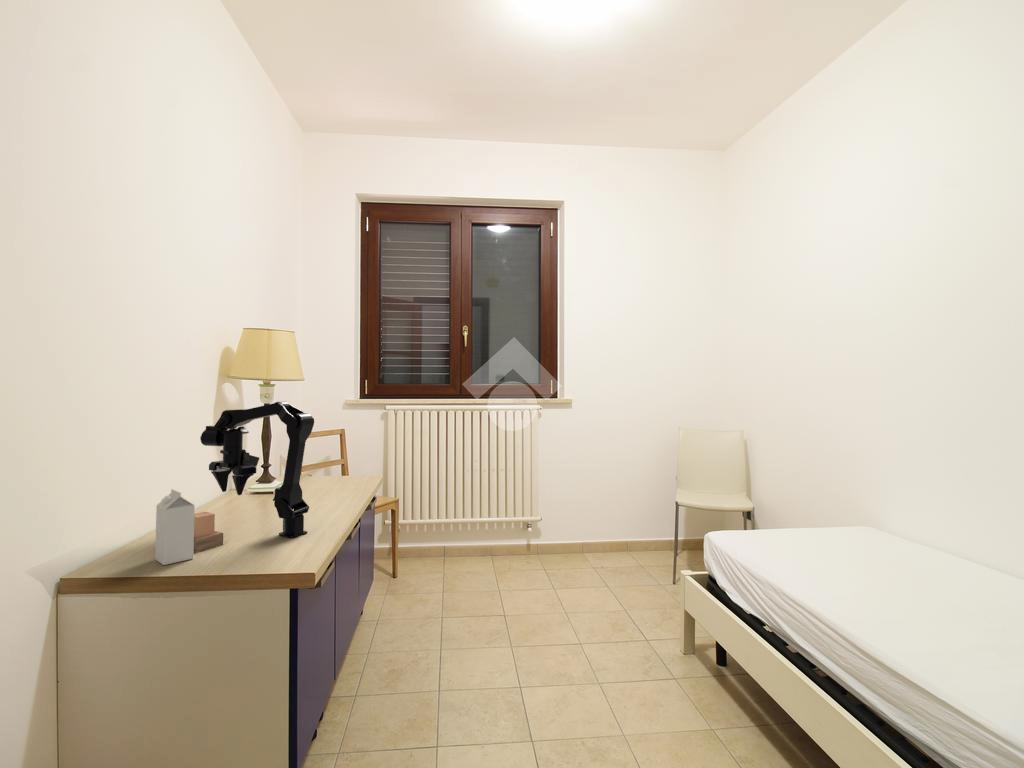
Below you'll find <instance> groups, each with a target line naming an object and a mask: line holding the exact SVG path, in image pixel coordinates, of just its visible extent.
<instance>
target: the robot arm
mask: <svg viewBox="0 0 1024 768" xmlns="http://www.w3.org/2000/svg"><path fill="white" fill-rule="evenodd" d="M276 415H277V417H278V418H279V420H280V421H281V422H282V424H285V425H286V434H287V437H288V438H289V440H288V441H289V443H288V449H287V456H286V461H285V469H284V475H283V482H282V484H281V486H279V487H275V489H274V495H273V496H274V497H273V499H272V502H273V503H274V505H273V506H274V507H275V509H276V512H277V515H278V518H279V519H282V531H281V532H279V533H278V535H279V536H282V537H287V538H289V539H290V538H294V537H299V536H302V535H305V534H306V535H307V534H308V533H309V531H307V530H305V529H304V526H305V523H304V522H305V514H307V513H308V512H309V510H310V506H309V504H307V502H306V500H304V499H303V490H302V487H301V485H300V483H301V482H300V481H301V476H302V475H301V473H302V467H303V463H304V462H303V461H304V456H305V455H304V454H305V449H306V442H307V440H308V438H309V437H310V435H311V434H312V432H313V428H314V425H315V419H314V418H313V416H312V415H311V414H310V413H307V412H305V411H303V410H301V409H300V408H297V407H296V406H294V405H292V404H291V403H290V402H287V401H276V402H274V403H270V404H269V403H268V404H265V405H260V406H256V407H251V408H245V409H243V408H242V409H225V410H223V411H222V412H221V415H220V417H219V418H218V420H217V421H216V423H214V425H206V426H205V429H204V430H203V431H202V432H201V435H200V439H199V440H200V442H201V444H202V445H203V446H205V447H206V446H208V447H209V446H210V447H222V449H220V451H219V452H220V454H222V460H217V461H211V462H210V463H209V464H208V471H210V473H211V474H212V475H213V477H214V479H215V480H216V482H217V484H218V486H219V488H220V490H221V492H223V493H225V492H227V490H228V489H227V488H228V484H229V483H228V481H229V476H230V474H231V473H232V474H233V475H231V477H232V481H233V485H234V487H235V491H236V495H237V496H241V495H242V494H243V492H244V489H245V487H246V483H247V482H248V480H249V478H250V477H253V476H254V475H255V474H257V468H258V467H257V466H258V464H259V461H260V457H259V456H255V455H251V454H250V452H247V451H246V449H244V448H243V442H244V441H243V440H244V439H243V438H244V437H243V435H244V434H249V433H250V432H249V431H248V429H247V428H245V425H247V424H249V423H250V422H252V421H254V420H258V419H263V418H267V417H272V416H276Z"/></svg>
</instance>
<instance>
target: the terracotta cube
mask: <svg viewBox="0 0 1024 768" xmlns="http://www.w3.org/2000/svg"><path fill="white" fill-rule="evenodd" d="M215 516H216V514H215V513H212V512H210V511H202V512H197V513H194V537H195V538H199V537H203V536H208V535H212V534H214V531H215V530H216V528H215V525H216V524H215V523H216V522H215V520H216V518H215Z"/></svg>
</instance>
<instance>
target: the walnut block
mask: <svg viewBox="0 0 1024 768" xmlns="http://www.w3.org/2000/svg"><path fill="white" fill-rule="evenodd" d="M219 545H221V546H223V545H224V532H222V531H221V532H220V531H216V530H214V534H212V535H208V536H203V537H199V538H195V537H194V549H193V553H200V552H204V551H207V549H208V550H211V549H214V548H217V547H216V546H218V547H220V546H219ZM210 548H211V549H210Z"/></svg>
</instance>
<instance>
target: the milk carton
mask: <svg viewBox="0 0 1024 768" xmlns="http://www.w3.org/2000/svg"><path fill="white" fill-rule="evenodd" d="M195 507H196V506H195V504H194V503H192V502H191V501H188V500H187V499H186V498H184V497H183V496H182V492H180V491H178V490H177V489H174V488H171V490H170V493H169V494H168V495H165V496H164V497H162V498H161V501H160V502H158V503H157V504H156V508H155V509H156V510H155V511H156V513H155V514H156V515H155V517H156V518H155V549H154V550H155V551H154V552H155V553H154V555H155V556H154V560H156V561H157V562H159V563H160V564H161V565H162V566H166V565H167V566H168V565H170V564H176V563H179V562H183V561H188V560H192V559H194V552H193V549H194V514H195Z"/></svg>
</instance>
